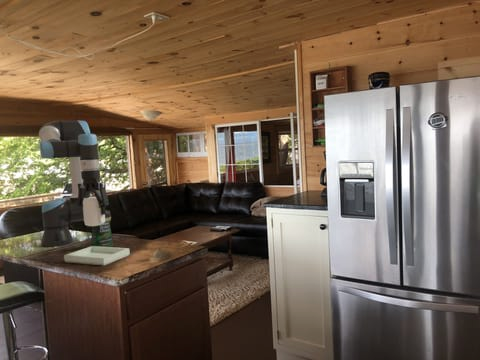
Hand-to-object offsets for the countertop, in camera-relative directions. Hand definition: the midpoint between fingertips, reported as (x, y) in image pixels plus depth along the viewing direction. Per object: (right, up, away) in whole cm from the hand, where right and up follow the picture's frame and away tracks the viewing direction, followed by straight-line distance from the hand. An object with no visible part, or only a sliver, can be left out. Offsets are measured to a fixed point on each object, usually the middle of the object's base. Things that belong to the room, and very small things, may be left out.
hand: (94, 221), depth 170 cm
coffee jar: (-4, -15, +21) cm, 26 cm away
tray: (+1, -16, +1) cm, 16 cm away
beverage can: (0, -1, 0) cm, 1 cm away
